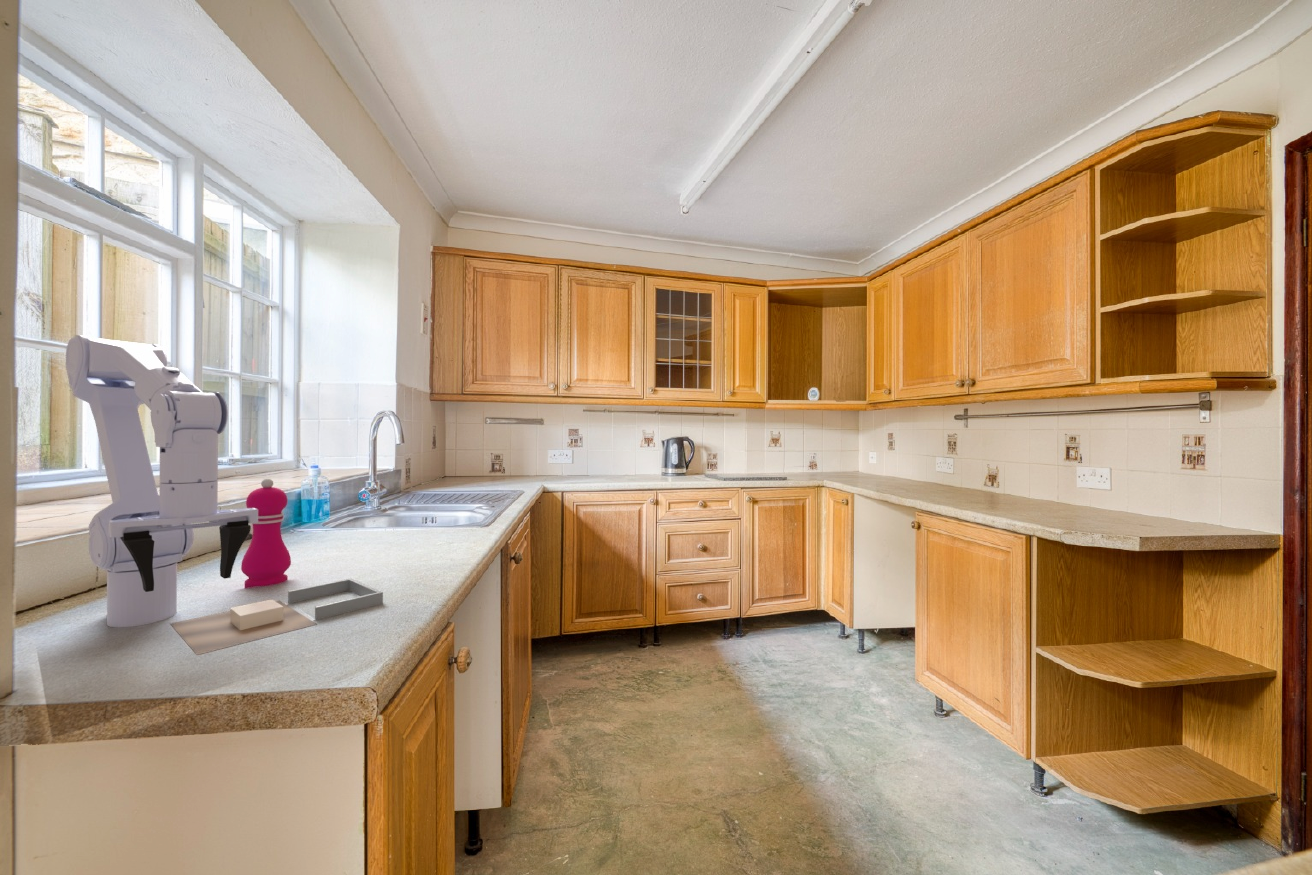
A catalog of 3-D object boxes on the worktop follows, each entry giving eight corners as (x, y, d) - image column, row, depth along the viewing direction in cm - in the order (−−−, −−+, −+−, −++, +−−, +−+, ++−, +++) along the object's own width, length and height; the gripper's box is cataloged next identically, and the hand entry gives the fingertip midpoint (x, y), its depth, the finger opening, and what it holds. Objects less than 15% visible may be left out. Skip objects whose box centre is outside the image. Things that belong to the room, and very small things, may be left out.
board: (170, 631, 72) (170, 623, 72) (279, 607, 83) (279, 600, 83) (196, 664, 63) (197, 654, 63) (317, 632, 73) (317, 624, 73)
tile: (230, 621, 73) (230, 607, 73) (271, 612, 77) (272, 599, 77) (240, 630, 70) (240, 615, 70) (283, 620, 74) (283, 606, 74)
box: (283, 610, 81) (283, 591, 81) (351, 595, 89) (351, 578, 89) (311, 629, 74) (312, 608, 74) (382, 610, 82) (382, 592, 82)
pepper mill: (250, 596, 88) (251, 481, 88) (234, 589, 92) (235, 478, 91) (297, 586, 94) (298, 478, 94) (280, 579, 98) (281, 476, 98)
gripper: (114, 488, 59) (114, 603, 60) (265, 480, 71) (264, 576, 71) (106, 483, 64) (105, 591, 64) (249, 476, 75) (249, 568, 75)
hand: (188, 583), depth 68 cm, fingers open, 7 cm apart
